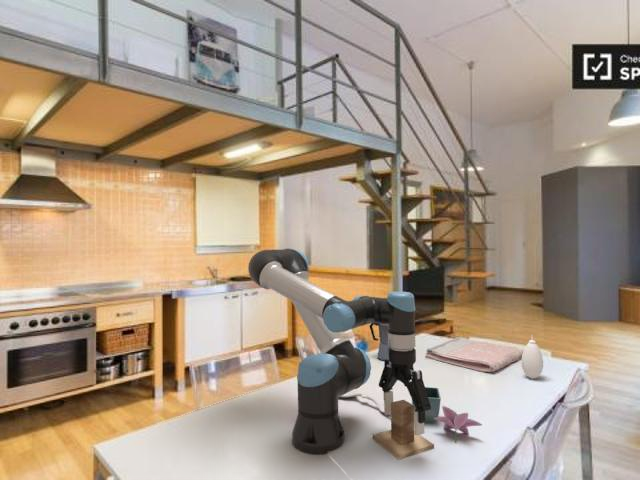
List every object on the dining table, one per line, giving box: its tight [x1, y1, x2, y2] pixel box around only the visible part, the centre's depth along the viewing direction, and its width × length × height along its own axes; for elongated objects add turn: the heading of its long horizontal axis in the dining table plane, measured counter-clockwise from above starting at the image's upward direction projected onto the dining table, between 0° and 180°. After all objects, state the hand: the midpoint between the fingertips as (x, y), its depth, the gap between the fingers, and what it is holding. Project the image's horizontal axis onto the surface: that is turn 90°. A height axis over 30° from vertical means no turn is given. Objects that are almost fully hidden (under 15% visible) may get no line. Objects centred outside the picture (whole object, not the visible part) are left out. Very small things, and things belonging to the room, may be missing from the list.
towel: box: [424, 336, 524, 373], centre depth 189 cm, size 36×34×6 cm
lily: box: [434, 405, 483, 444], centre depth 113 cm, size 12×12×10 cm
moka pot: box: [369, 323, 390, 362], centre depth 189 cm, size 10×15×20 cm, turn 89°
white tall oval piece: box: [521, 335, 544, 380], centre depth 161 cm, size 8×8×18 cm
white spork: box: [339, 389, 391, 416], centre depth 138 cm, size 9×32×4 cm, turn 43°
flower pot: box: [411, 386, 442, 424], centre depth 125 cm, size 9×9×9 cm
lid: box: [372, 399, 435, 460], centre depth 110 cm, size 12×12×11 cm
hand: (403, 423), depth 110 cm, fingers open, 13 cm apart
